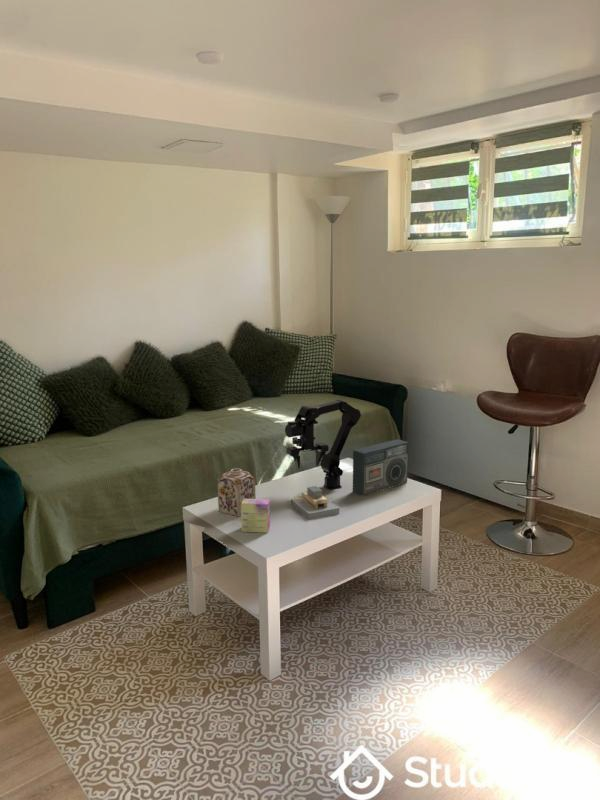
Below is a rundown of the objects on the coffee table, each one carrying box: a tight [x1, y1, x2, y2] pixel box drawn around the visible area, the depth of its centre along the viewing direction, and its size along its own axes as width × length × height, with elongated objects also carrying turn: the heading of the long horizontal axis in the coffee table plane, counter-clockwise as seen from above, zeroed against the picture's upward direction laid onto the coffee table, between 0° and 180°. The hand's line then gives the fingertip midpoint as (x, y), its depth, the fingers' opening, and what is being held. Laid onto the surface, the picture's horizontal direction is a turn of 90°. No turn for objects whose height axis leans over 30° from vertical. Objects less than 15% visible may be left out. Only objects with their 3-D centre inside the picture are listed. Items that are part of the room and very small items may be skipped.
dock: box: [290, 496, 340, 520], centre depth 257 cm, size 14×18×2 cm
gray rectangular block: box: [306, 485, 323, 498], centre depth 256 cm, size 4×6×3 cm, turn 26°
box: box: [240, 498, 271, 534], centre depth 236 cm, size 10×6×12 cm, turn 84°
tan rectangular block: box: [301, 491, 328, 509], centre depth 257 cm, size 6×12×4 cm, turn 25°
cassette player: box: [352, 438, 410, 497], centre depth 282 cm, size 29×7×20 cm, turn 128°
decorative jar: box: [217, 468, 257, 518], centre depth 255 cm, size 12×12×18 cm
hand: (307, 467), depth 274 cm, fingers open, 9 cm apart
